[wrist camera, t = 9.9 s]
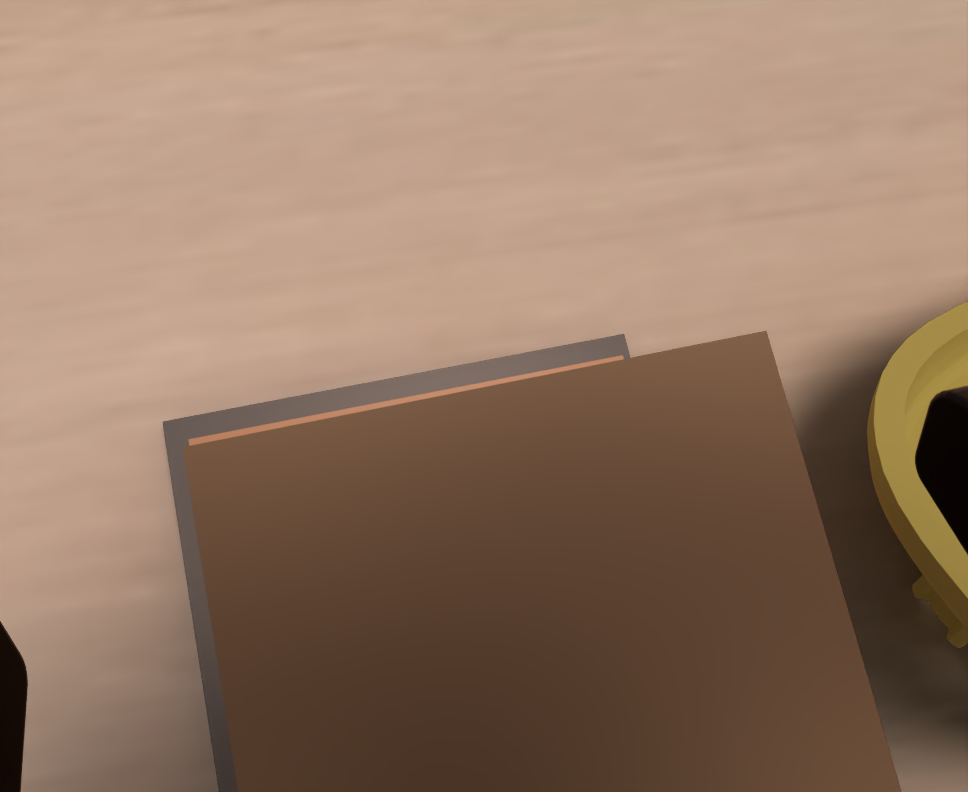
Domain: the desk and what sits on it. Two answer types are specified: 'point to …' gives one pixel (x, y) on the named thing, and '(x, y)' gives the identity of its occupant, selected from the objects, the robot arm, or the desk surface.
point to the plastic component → (892, 446)
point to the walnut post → (538, 591)
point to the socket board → (317, 409)
